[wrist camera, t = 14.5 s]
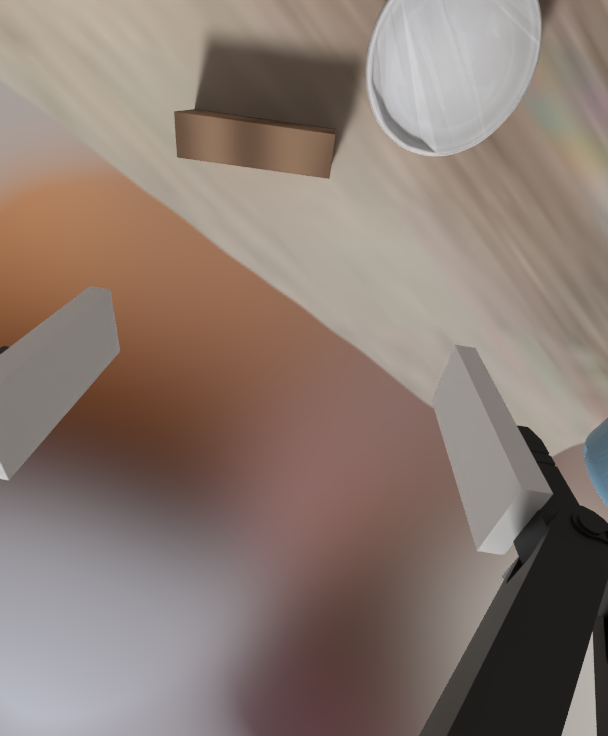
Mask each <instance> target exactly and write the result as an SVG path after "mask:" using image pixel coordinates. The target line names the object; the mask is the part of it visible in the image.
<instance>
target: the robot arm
mask: <svg viewBox="0 0 608 736" xmlns="http://www.w3.org/2000/svg"><path fill="white" fill-rule="evenodd" d="M119 352H120V348H119V341H118V335H117V329H116V322H115V316H114V310H113V304H112V298H111V291H110V290H109V289H103V288H97V287H91V286H90V287H88V288H87V289H86V290H84V291H83V292H82V293H81V294H79V295H78V296H76V297H75V298H74V299H73V300H71V301H70V302H69V303H67V304H66V305H65V306H63V307H62V308H61V309H60V310H58V311H57V312H56V313H54V314H53V315H52V316H50V317H49V318H48V319H46V320H45V321H44V322H42V323H41V324H40V325H38V326H37V327H36V328H34V329H33V330H32V331H31V332H29V333H28V334H27V335H25V336H24V337H23V338H21V339H20V340H19V341H17V342H16V343H15V344H14V345H12V346H11V347H6V346H3V347H1V348H0V479H4V480H9V479H10V478H11V477H12V476H13V475H14V474H15V472H16V471H17V470H18V469H19V468H20V467H21V466H22V464H23V463H24V462H25V461H26V460H27V459H28V457H29V456H30V455H31V454H32V453H33V451H34V450H35V449H36V448H37V447H38V445H40V443H41V442H42V441H43V440H44V439H45V438H46V436H47V435H48V434H49V433H50V432H51V431H52V430H53V428H54V427H55V426H56V425H57V424H58V423H59V421H60V420H61V419H62V418H63V417H64V416H65V414H66V413H67V412H68V411H69V410H70V409H71V407H72V406H73V405H74V404H75V403H76V401H78V399H79V398H80V397H81V396H82V395H83V394H84V392H85V391H86V390H87V389H88V388H89V387H90V385H91V384H92V383H93V382H94V381H95V379H96V378H97V377H98V376H99V375H100V374H101V373H102V372H103V370H104V369H105V368H106V367H107V366H108V365H109V363H110V362H111V361H112V360H113V359H114V358H115V356H116V355H117V354H118V353H119ZM432 403H433V406H434V409H435V412H436V416H437V419H438V423H439V426H440V429H441V433H442V436H443V439H444V443H445V446H446V449H447V452H448V456H449V459H450V463H451V466H452V469H453V472H454V476H455V479H456V483H457V486H458V489H459V493H460V496H461V499H462V502H463V506H464V509H465V512H466V516H467V519H468V522H469V526H470V529H471V532H472V535H473V539H474V542H475V546H476V549H477V551H481V552H488V553H494V554H501V555H504V554H505V553H506V552H507V550H508V549H509V548H510V546H511V545H512V544H513V543H514V545H515V547H516V550H517V552H518V555H519V557H518V558H517V559H516V560H515V562H514V563H513V564H512V565H511V566H510V568H509V569H508V570H507V571H506V572H505V573H504V575H503V576H502V577H503V578H504V581H503V583H502V585H501V587H500V589H499V590H498V592H497V594H496V596H495V598H494V600H493V601H492V603H491V605H490V607H489V609H488V610H487V612H486V614H485V616H484V618H483V620H482V621H481V623H480V625H479V627H478V629H477V631H476V633H475V634H474V636H473V638H472V640H471V642H470V643H469V645H468V647H467V649H466V651H465V653H464V655H463V656H462V658H461V660H460V662H459V664H458V666H457V667H456V669H455V671H454V673H453V675H452V677H451V678H450V680H449V682H448V684H447V686H446V687H445V690H444V691H443V693H442V695H441V697H440V699H439V700H438V702H437V704H436V706H435V708H434V709H433V711H432V713H431V715H430V717H429V719H428V720H427V722H426V724H425V726H424V728H423V730H422V731H421V733H420V735H419V736H561V735H562V731H563V728H564V725H565V721H566V718H567V715H568V711H569V708H570V705H571V701H572V698H573V694H574V691H575V688H576V684H577V681H578V678H579V674H580V671H581V668H582V664H583V661H584V657H585V654H586V651H587V648H588V644H589V641H590V637H591V634H592V631H593V647H594V673H595V695H596V696H595V697H596V720H597V736H608V523H607V522H606V521H605V520H604V519H603V518H602V517H600V516H599V515H598V514H596V513H595V512H594V511H591V510H590V509H588V508H586V507H584V506H580V505H579V503H578V502H577V500H576V498H575V497H574V495H573V493H572V492H571V490H570V488H569V486H568V485H567V483H566V481H565V480H564V478H563V476H562V475H561V473H560V471H559V469H558V468H557V467H556V466H555V462H554V461H553V459H552V457H551V456H549V452H548V450H547V449H546V447H545V445H544V444H543V442H542V440H541V439H540V438H539V437H538V436H537V435H536V434H535V433H534V432H533V431H532V430H531V429H529V428H528V427H523V426H517V425H516V423H515V422H514V420H513V418H512V416H511V414H510V412H509V410H508V408H507V407H506V405H505V403H504V401H503V399H502V397H501V395H500V394H499V392H498V390H497V388H496V386H495V384H494V382H493V380H492V379H491V377H490V375H489V373H488V371H487V369H486V367H485V366H484V364H483V362H482V360H481V358H480V356H479V354H478V352H477V351H476V349H475V348H472V347H465V346H459V345H455V347H454V349H453V352H452V354H451V356H450V359H449V361H448V363H447V366H446V368H445V370H444V373H443V375H442V377H441V380H440V382H439V384H438V387H437V389H436V391H435V394H434V396H433V398H432ZM584 456H585V457H584V461H585V466H586V469H587V472H588V475H589V477H590V479H591V481H592V483H593V485H594V487H595V489H596V491H597V493H598V494H599V496H600V497H601V499H602V501H603V502H604V503H605V505H606V506H607V508H608V418H607V419H606V420H605V421H604V422H602V423H601V424H600V425H599V426H598V427H597V428H596V429H594V430H593V431H592V432H591V433H590V434H589V436H588V437H587V439H586V441H585V444H584Z"/></svg>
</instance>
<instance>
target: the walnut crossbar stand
mask: <svg viewBox="0 0 608 736" xmlns="http://www.w3.org/2000/svg"><path fill="white" fill-rule="evenodd" d="M174 114H175V130H176V146H177V157H179V158H186V159H193V160H200V161H207V162H215V163H222V164H229V165H236V166H243V167H250V168H257V169H264V170H272V171H279V172H286V173H293V174H300V175H307V176H314V177H321V178H328V179H329V177H330V170H331V163H332V156H333V149H334V142H335V135H336V133H335V129H329V128H322V127H315V126H308V125H301V124H294V123H287V122H280V121H273V120H266V119H259V118H252V117H245V116H238V115H231V114H224V113H217V112H210V111H203V110H196V109H193V110H184V111H176V112H174Z"/></svg>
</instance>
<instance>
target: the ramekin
mask: <svg viewBox="0 0 608 736" xmlns="http://www.w3.org/2000/svg"><path fill="white" fill-rule="evenodd" d="M541 40H542V15H541V9H540V4H539V0H387V2H386V3H385V5H384V7H383V9H382V10H381V12H380V14H379V17H378V19H377V21H376V24H375V26H374V29H373V32H372V35H371V38H370V42H369V46H368V51H367V58H366V88H367V94H368V98H369V103H370V106H371V109H372V112H373V114H374V117H375V119H376V121H377V122H378V124H379V126H380V127H381V129H382V130H383V131H384V132H385V133H386V135H387V136H388V137H389V138H390V139H391V140H392V141H394V142H395V143H396V144H397V145H399V146H400V147H402V148H404V149H406V150H408V151H410V152H413V153H416V154H420V155H425V156H446V155H451V154H455V153H458V152H461V151H464V150H466V149H468V148H471V147H473V146H474V145H476V144H478V143H480V142H481V141H483V140H484V139H486V138H487V137H488V136H490V135H491V134H492V133H493V132H494V131H495V130H496V129H498V128H499V127H500V126H501V125H502V124H503V123H504V122H505V120H506V119H507V118H508V117H509V116H510V115H511V113H512V112H513V111H514V110H515V108H516V107H517V105H518V104H519V102H520V101H521V99H522V98H523V96H524V94H525V92H526V90H527V88H528V86H529V84H530V82H531V80H532V77H533V74H534V71H535V69H536V66H537V63H538V60H539V53H540V47H541Z"/></svg>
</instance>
